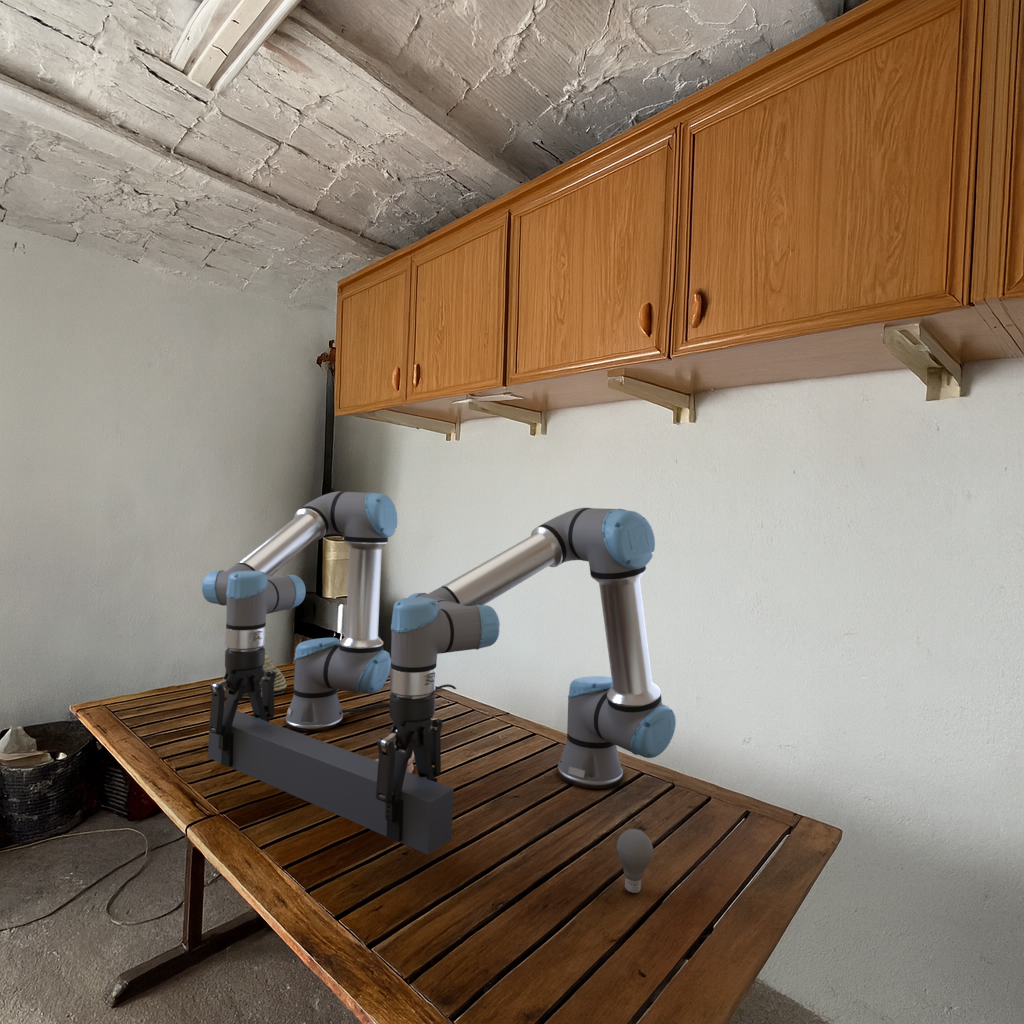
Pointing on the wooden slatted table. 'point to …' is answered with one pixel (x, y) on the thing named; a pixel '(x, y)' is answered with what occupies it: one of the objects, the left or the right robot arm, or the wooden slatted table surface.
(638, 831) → the light bulb
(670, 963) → the wooden slatted table surface
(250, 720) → the bar
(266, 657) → the fossil
